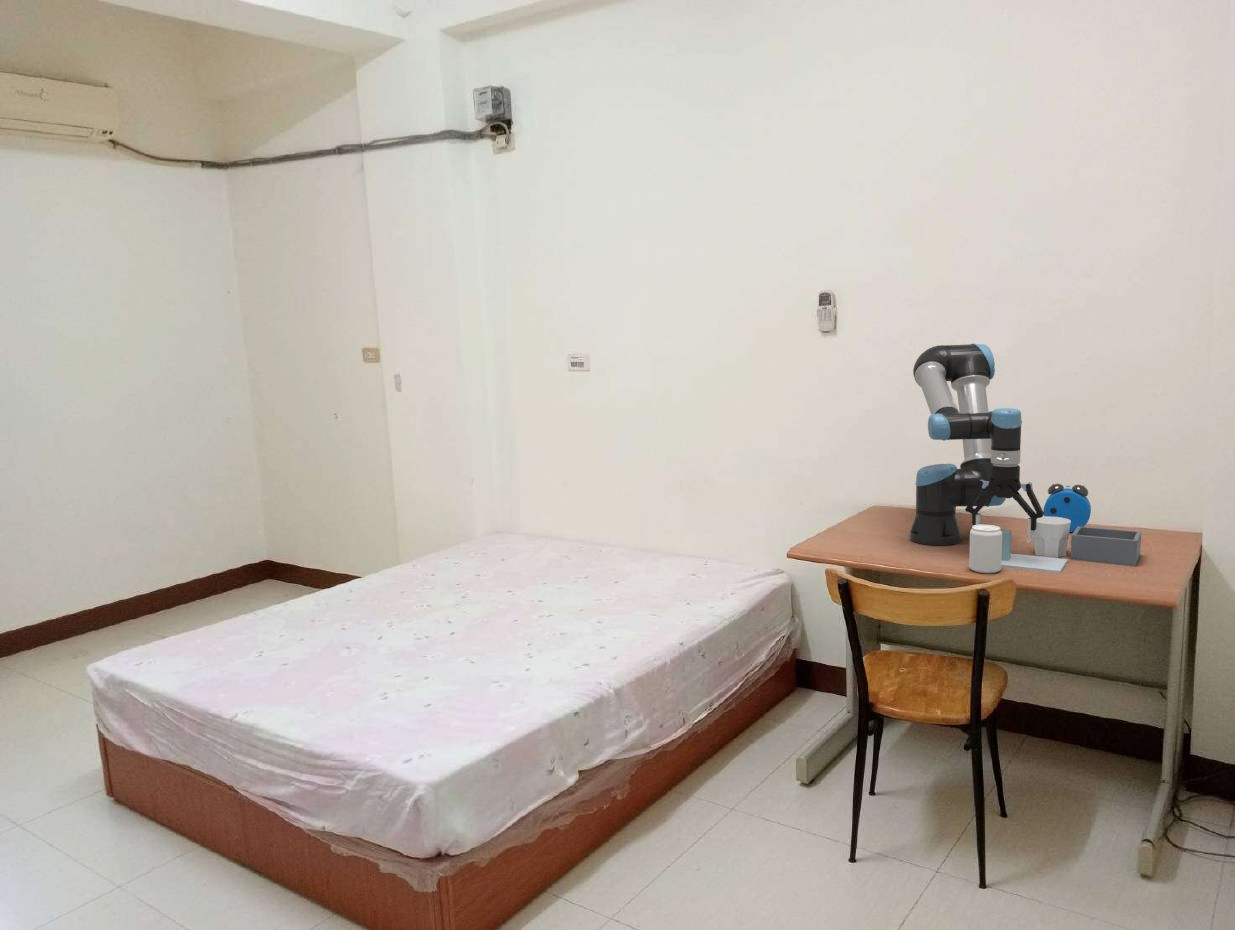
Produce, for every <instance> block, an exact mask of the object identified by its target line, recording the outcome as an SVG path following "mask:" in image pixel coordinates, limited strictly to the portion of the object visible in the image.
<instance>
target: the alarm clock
mask: <svg viewBox="0 0 1235 930" xmlns="http://www.w3.org/2000/svg"><path fill="white" fill-rule="evenodd" d="M1047 493H1048V495H1049V496H1048V497H1047V499H1046V500H1045V503H1044V506H1043V512H1044V516H1043V517H1045V516H1049V517H1060V518H1066V519H1069V520H1070V521H1071V524H1070V530H1069V533H1073V532H1074V531H1075V530H1076V528H1077V527H1078V526H1082V527H1086V525H1087V524H1088V523H1089V520H1090V517H1091V513H1092V507H1091V506H1092V505H1091V503H1090V501H1089V498H1088V497H1087V496H1088V495H1089V491H1088V489H1087V487H1086V486H1085V485H1082V484H1074V485H1073V486H1072V487H1071V485H1066V487H1065V486H1064V485H1063V484H1061V483H1055V484H1054V483H1052V485H1050V486H1049V487H1048V489H1047Z"/></svg>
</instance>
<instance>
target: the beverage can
mask: <svg viewBox="0 0 1235 930" xmlns="http://www.w3.org/2000/svg"><path fill="white" fill-rule="evenodd" d="M1000 529H1001V527H1000V526H998V525H993V524H982V523H981V525H972V527H971V529H970V531H969V556H968V557H969V563H968V566H969V569H970V570H971V571H974V572H976V573H980V574H995V573H998V572H1000V571H1001V570H1002V567H1001V561H1002V531H1001V530H1000Z"/></svg>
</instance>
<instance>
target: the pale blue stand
mask: <svg viewBox="0 0 1235 930" xmlns="http://www.w3.org/2000/svg"><path fill="white" fill-rule="evenodd" d="M1000 530H1001V531H1002V561H1001V568H1008V569H1009V568H1010V569H1018V570H1027V571H1028V570H1029V571H1037V572H1047V573H1055V574H1061V573H1062V572H1063V570H1064V568H1065V567H1066V565H1067V564H1068V562H1069V559H1067V558H1061V557H1058V558H1056V557H1044V556H1040V555H1029V554H1028V555H1026V554H1017V553H1012V530H1011V529H1005V528H1004V529H1003V528H1000Z"/></svg>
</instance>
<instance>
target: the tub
mask: <svg viewBox="0 0 1235 930" xmlns="http://www.w3.org/2000/svg"><path fill="white" fill-rule="evenodd" d="M1070 537H1071V539H1070V560H1072V561H1082V562H1093V563H1101V564H1110V565H1111V564H1112V565H1119V566H1121V565H1123V566H1129V567H1130V566H1131V567H1137V565H1138V562H1139V559H1140V557H1141V549H1142V531H1139V530H1127V529H1115V528H1102V527H1092V526H1091V527H1090V526H1084V527H1082V526H1078V527H1077V528H1076V530H1075V531H1074V532H1072V534H1071V536H1070Z"/></svg>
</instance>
